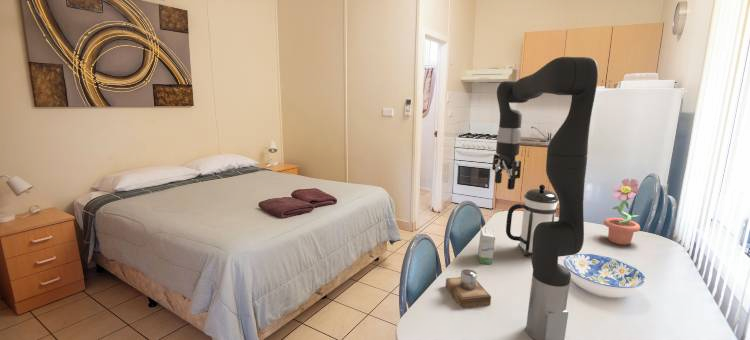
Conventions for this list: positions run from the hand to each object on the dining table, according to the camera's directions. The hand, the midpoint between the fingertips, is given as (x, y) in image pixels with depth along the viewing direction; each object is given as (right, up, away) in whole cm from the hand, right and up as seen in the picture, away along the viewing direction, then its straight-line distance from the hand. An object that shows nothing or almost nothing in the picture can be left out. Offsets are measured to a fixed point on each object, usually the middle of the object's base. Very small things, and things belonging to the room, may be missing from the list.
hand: (504, 186), depth 128 cm
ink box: (-1, -31, +19) cm, 36 cm away
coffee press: (+21, -30, +26) cm, 45 cm away
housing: (-15, -33, -8) cm, 37 cm away
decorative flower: (+67, -28, +40) cm, 83 cm away
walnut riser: (-15, -36, -7) cm, 40 cm away
